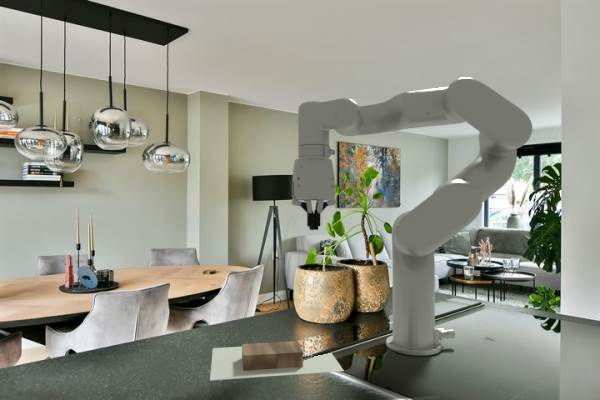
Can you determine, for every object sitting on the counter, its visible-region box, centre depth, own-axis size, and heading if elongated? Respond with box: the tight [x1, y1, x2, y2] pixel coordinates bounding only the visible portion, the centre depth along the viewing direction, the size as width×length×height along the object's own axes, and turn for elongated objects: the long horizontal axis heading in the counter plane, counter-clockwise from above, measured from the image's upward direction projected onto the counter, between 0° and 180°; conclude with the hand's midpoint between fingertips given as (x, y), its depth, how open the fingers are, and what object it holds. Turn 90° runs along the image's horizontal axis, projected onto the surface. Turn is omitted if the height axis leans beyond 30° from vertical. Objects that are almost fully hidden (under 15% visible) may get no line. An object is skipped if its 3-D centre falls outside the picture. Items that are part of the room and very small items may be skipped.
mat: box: [209, 346, 345, 382], centre depth 92 cm, size 26×18×1 cm
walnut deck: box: [241, 340, 303, 371], centre depth 90 cm, size 3×7×12 cm
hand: (313, 229), depth 105 cm, fingers closed
